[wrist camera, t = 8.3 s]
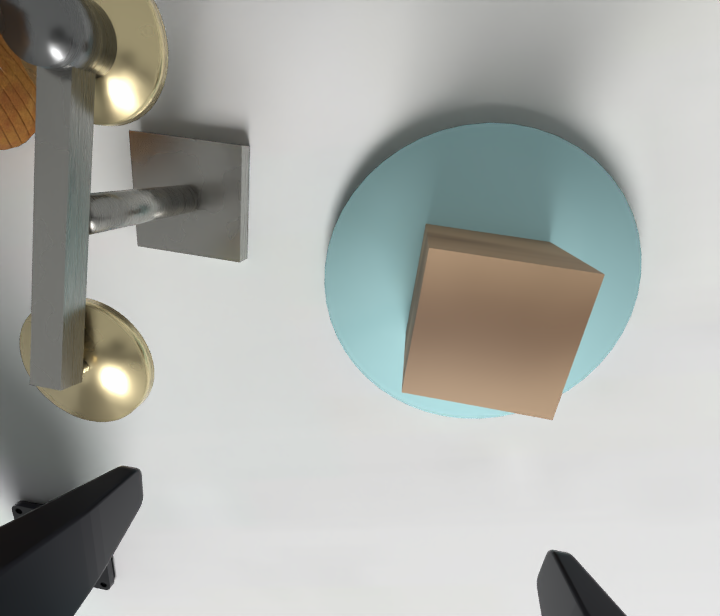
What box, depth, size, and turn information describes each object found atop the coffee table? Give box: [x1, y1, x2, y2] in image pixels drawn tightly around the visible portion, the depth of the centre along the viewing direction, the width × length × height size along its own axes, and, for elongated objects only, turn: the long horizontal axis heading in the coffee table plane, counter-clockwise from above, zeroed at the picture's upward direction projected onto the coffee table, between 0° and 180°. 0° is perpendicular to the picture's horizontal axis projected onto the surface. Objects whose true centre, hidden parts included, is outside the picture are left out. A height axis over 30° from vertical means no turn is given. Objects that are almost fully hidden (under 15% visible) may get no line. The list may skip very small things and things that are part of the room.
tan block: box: [402, 224, 605, 420], centre depth 15 cm, size 5×5×5 cm
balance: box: [0, 0, 249, 422], centre depth 14 cm, size 14×5×9 cm, turn 173°
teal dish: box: [325, 123, 641, 418], centre depth 17 cm, size 13×13×1 cm
